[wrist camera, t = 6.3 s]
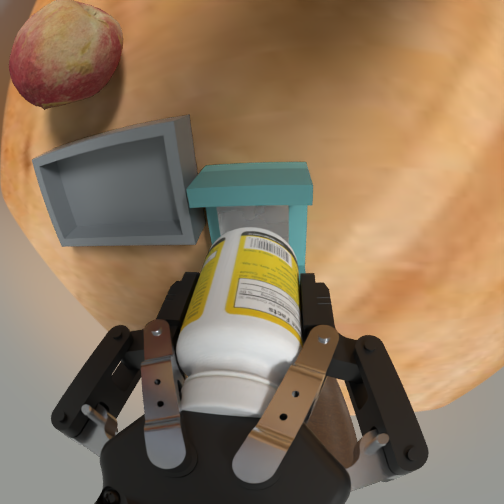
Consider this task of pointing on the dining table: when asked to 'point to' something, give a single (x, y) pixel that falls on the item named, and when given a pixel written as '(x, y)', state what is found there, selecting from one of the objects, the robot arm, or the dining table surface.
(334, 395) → the plant pot
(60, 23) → the fruit
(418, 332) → the dining table surface
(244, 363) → the supplement bottle
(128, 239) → the trough
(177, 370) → the robot arm
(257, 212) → the plate
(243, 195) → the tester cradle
